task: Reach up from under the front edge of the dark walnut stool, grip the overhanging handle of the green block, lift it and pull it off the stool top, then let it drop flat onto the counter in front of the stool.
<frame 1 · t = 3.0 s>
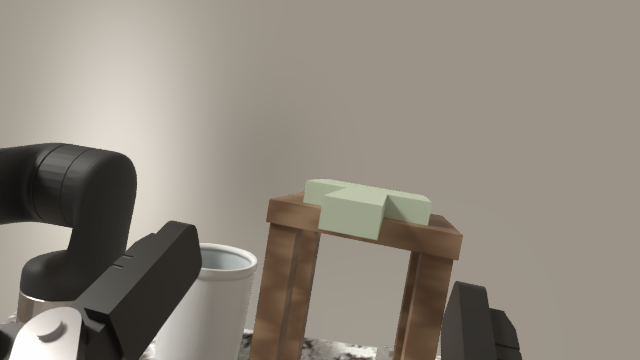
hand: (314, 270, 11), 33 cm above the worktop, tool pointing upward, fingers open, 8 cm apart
green block: (367, 208, 37), point 32 cm above the worktop, touching stool
utensil holder: (199, 355, 63), on the worktop
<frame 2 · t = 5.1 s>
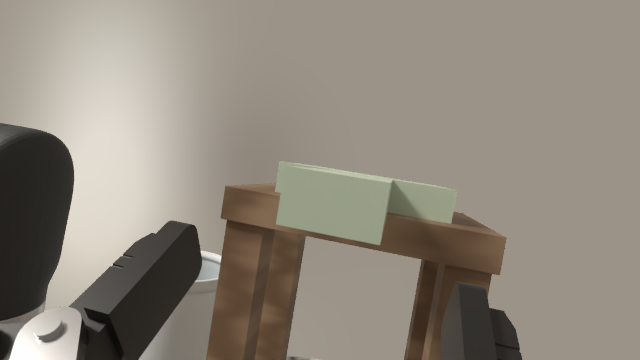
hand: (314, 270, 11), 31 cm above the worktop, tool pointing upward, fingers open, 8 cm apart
green block: (364, 202, 27), point 32 cm above the worktop, touching stool
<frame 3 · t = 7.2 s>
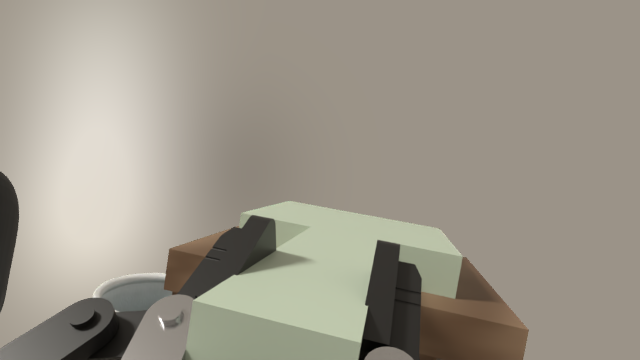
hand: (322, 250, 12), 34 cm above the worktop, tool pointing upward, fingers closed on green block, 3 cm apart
green block: (349, 254, 23), point 32 cm above the worktop, touching gripper, stool
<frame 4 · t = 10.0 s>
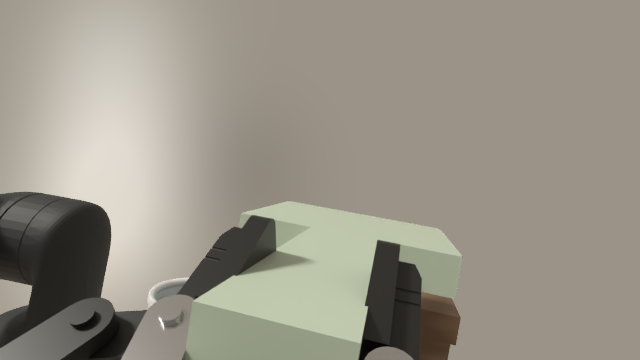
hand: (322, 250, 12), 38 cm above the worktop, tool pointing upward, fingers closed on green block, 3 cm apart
green block: (349, 254, 23), point 36 cm above the worktop, touching gripper
when the fingers open (27 cm above the worktop, at t = 13.3 s): green block drops 25 cm, on the worktop.
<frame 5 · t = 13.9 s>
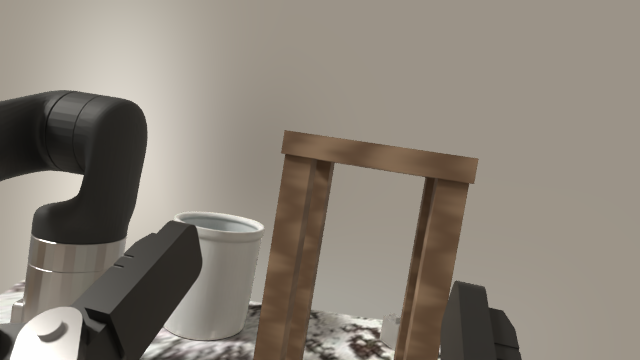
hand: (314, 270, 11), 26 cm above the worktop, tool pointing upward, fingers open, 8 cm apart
lighter: (395, 349, 64), on the worktop
utensil holder: (205, 322, 63), on the worktop
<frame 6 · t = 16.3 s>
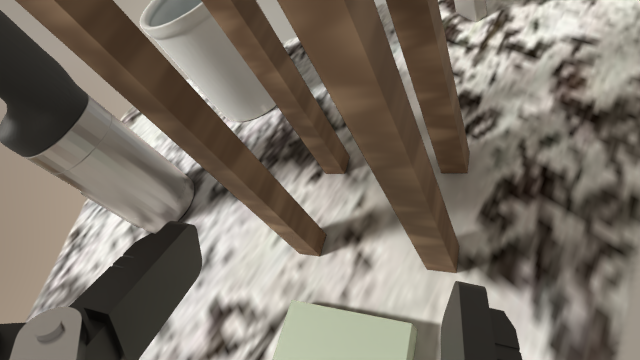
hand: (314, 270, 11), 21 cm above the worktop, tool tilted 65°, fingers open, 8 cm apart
stool: (382, 204, 37), on the worktop
lighter: (479, 18, 47), on the worktop
utensil holder: (260, 91, 60), on the worktop
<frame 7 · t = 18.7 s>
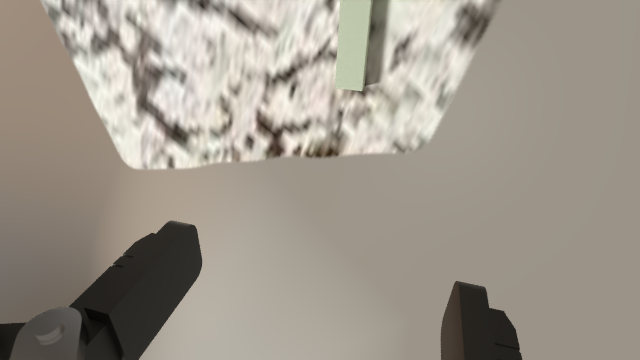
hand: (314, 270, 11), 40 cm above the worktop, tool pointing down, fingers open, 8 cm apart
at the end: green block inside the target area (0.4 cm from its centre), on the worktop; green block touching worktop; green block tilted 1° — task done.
